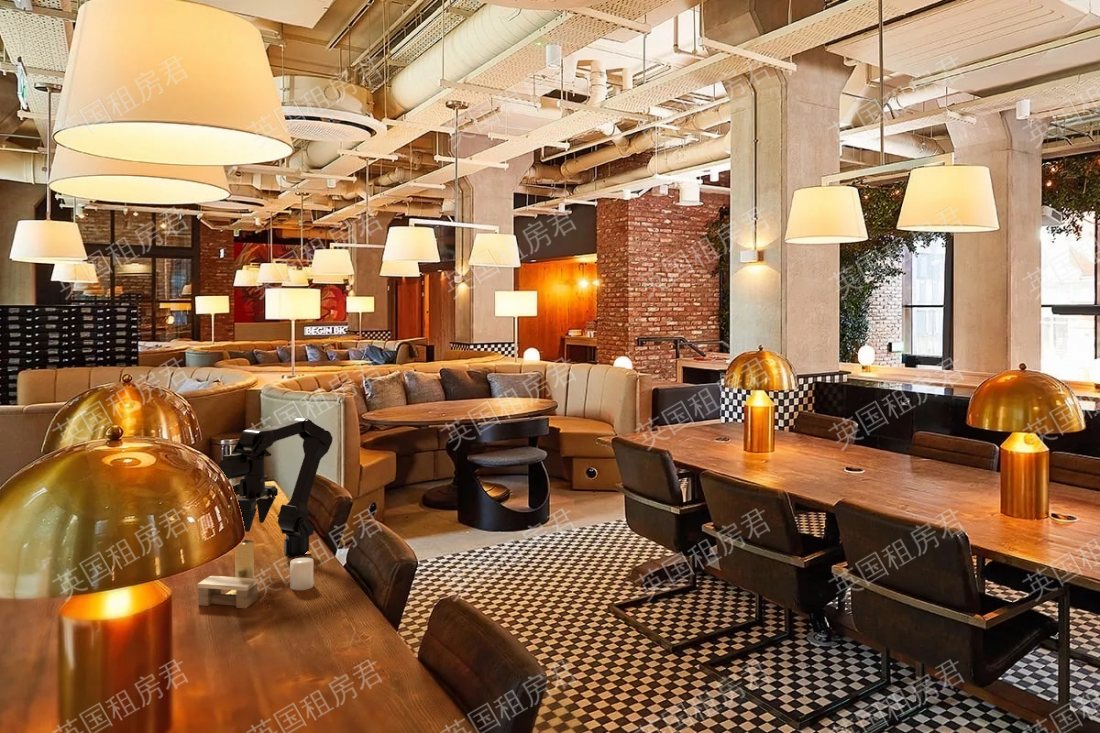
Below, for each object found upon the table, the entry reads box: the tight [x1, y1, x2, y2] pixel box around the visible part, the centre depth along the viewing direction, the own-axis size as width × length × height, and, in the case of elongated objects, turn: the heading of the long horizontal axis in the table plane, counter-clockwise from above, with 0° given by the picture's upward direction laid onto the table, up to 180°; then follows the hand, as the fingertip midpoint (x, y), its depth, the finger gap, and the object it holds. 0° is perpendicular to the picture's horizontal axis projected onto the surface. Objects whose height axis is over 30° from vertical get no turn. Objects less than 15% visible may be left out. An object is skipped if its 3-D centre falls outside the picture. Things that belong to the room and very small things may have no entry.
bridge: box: [197, 575, 260, 609], centre depth 191 cm, size 6×13×6 cm, turn 84°
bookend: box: [225, 539, 255, 595], centre depth 196 cm, size 12×6×13 cm, turn 174°
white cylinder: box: [289, 557, 314, 591], centre depth 204 cm, size 6×6×7 cm
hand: (254, 527), depth 217 cm, fingers open, 9 cm apart
